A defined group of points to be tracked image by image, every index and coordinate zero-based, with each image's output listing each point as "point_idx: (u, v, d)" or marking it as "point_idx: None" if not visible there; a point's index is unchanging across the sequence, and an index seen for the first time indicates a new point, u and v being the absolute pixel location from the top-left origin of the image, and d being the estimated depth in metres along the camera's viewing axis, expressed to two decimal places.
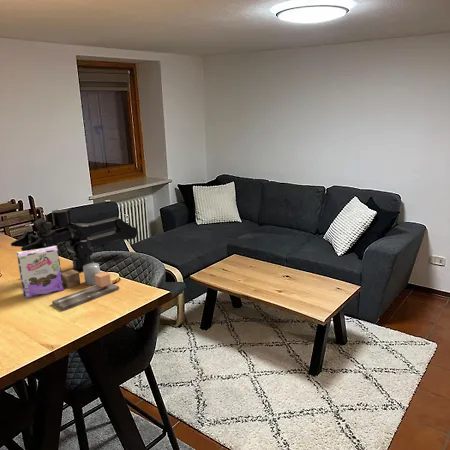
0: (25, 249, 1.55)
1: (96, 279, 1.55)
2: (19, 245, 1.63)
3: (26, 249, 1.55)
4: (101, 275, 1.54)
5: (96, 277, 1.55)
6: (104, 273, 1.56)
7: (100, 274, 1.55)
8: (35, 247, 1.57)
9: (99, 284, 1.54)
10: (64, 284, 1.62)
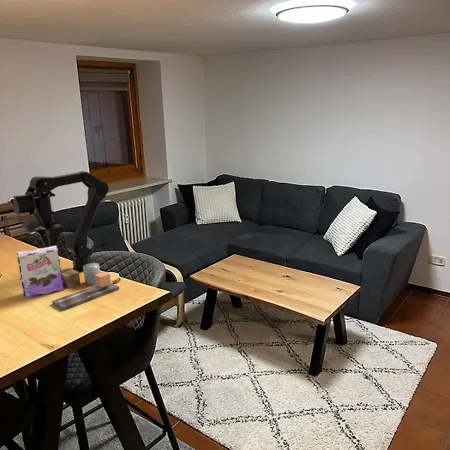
0: None
1: (96, 279, 1.55)
2: (47, 238, 1.69)
3: (53, 245, 1.65)
4: (101, 275, 1.54)
5: (96, 277, 1.55)
6: (104, 273, 1.56)
7: (100, 274, 1.55)
8: (53, 237, 1.63)
9: (99, 284, 1.54)
10: (64, 284, 1.62)
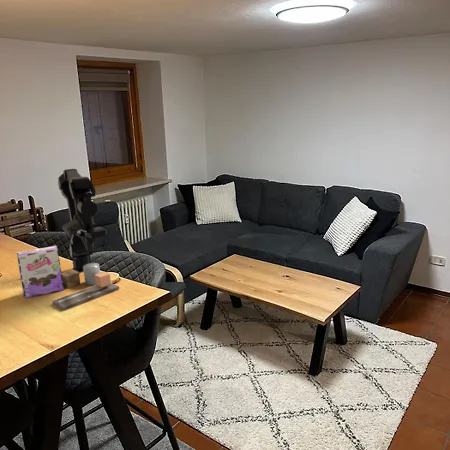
0: (90, 248, 1.61)
1: (96, 279, 1.55)
2: None
3: (90, 247, 1.60)
4: (101, 275, 1.54)
5: (96, 277, 1.55)
6: (104, 273, 1.56)
7: (100, 274, 1.55)
8: (90, 239, 1.59)
9: (99, 284, 1.54)
10: (64, 284, 1.62)
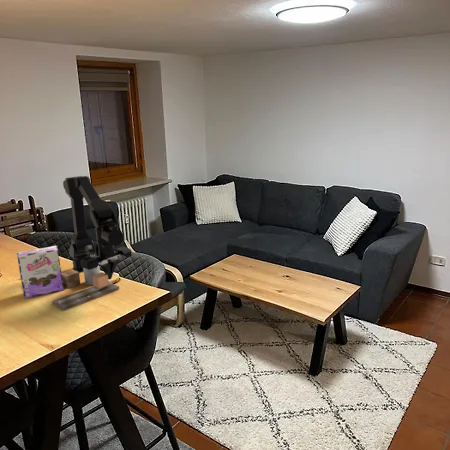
0: None
1: (94, 280, 1.54)
2: None
3: None
4: (99, 276, 1.54)
5: (94, 278, 1.54)
6: (102, 274, 1.56)
7: (98, 275, 1.55)
8: (105, 268, 1.56)
9: (97, 285, 1.54)
10: (64, 284, 1.62)
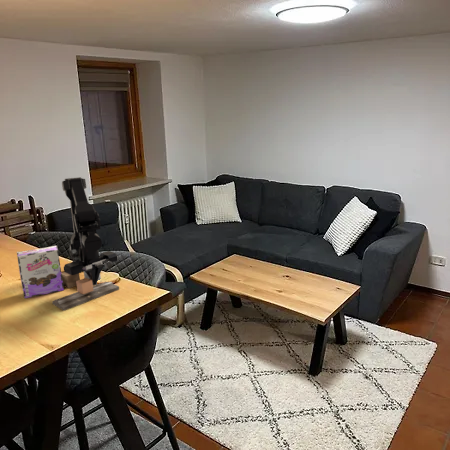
0: (92, 282, 1.52)
1: (78, 285, 1.50)
2: (95, 277, 1.52)
3: (92, 281, 1.52)
4: (83, 281, 1.49)
5: (78, 283, 1.49)
6: (86, 279, 1.51)
7: (82, 280, 1.50)
8: (89, 273, 1.51)
9: (81, 291, 1.49)
10: (64, 284, 1.62)
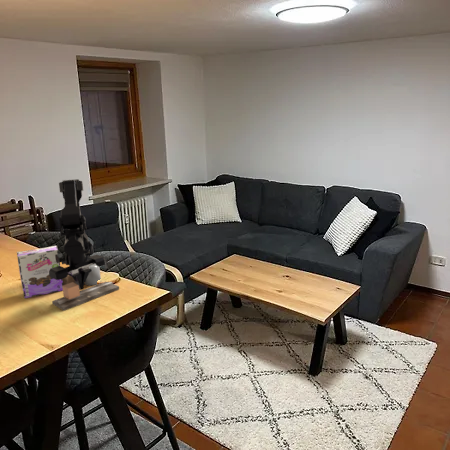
0: (79, 286, 1.49)
1: (64, 290, 1.46)
2: (82, 282, 1.48)
3: (79, 286, 1.49)
4: (69, 286, 1.45)
5: (64, 288, 1.46)
6: (73, 284, 1.47)
7: (68, 285, 1.46)
8: None
9: (67, 296, 1.45)
10: (64, 284, 1.62)
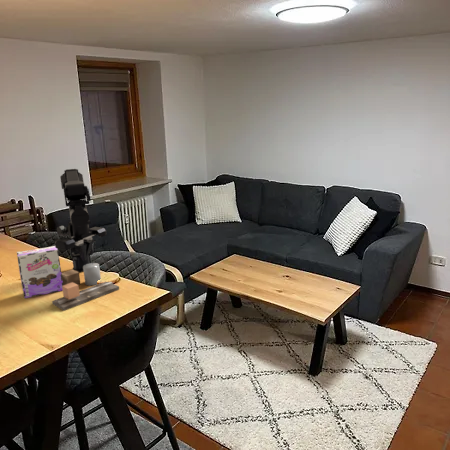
0: (83, 257, 1.51)
1: (64, 290, 1.46)
2: (86, 252, 1.51)
3: (82, 257, 1.51)
4: (69, 286, 1.45)
5: (64, 288, 1.46)
6: (72, 284, 1.47)
7: (68, 285, 1.46)
8: (80, 249, 1.50)
9: (67, 296, 1.45)
10: (64, 284, 1.62)
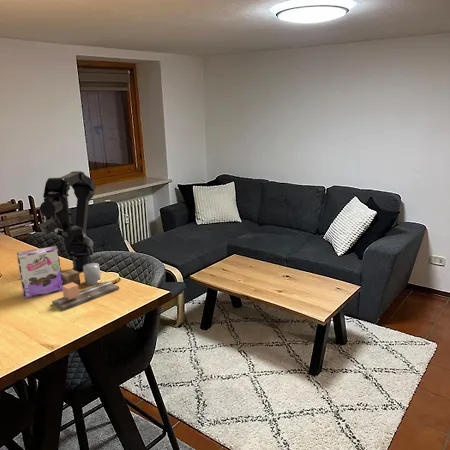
0: (67, 246, 1.63)
1: (64, 290, 1.46)
2: None
3: (68, 245, 1.63)
4: (69, 286, 1.45)
5: (64, 288, 1.46)
6: (72, 284, 1.47)
7: (68, 285, 1.46)
8: (67, 238, 1.62)
9: (67, 296, 1.45)
10: (64, 284, 1.62)
